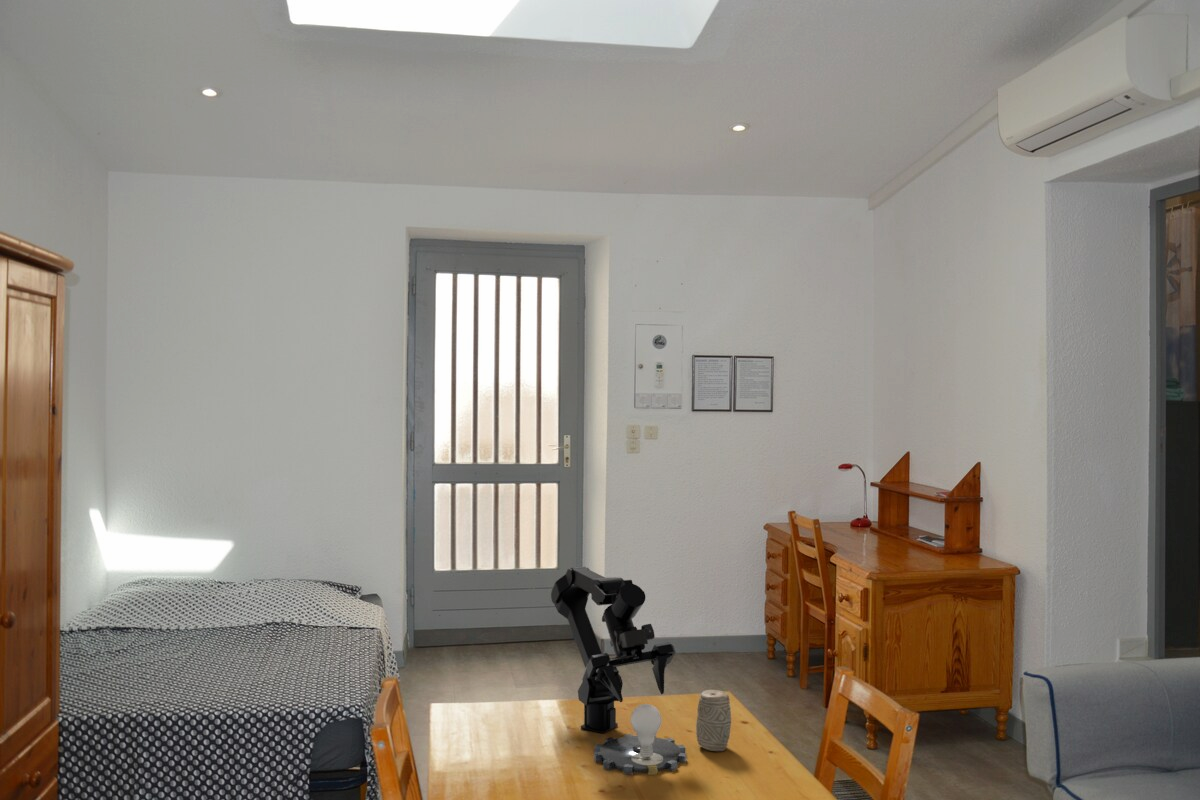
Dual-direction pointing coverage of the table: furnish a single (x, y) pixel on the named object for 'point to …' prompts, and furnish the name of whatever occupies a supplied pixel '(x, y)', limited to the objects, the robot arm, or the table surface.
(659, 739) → the sprocket plate
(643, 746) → the lightbulb
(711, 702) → the carving
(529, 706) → the table surface
